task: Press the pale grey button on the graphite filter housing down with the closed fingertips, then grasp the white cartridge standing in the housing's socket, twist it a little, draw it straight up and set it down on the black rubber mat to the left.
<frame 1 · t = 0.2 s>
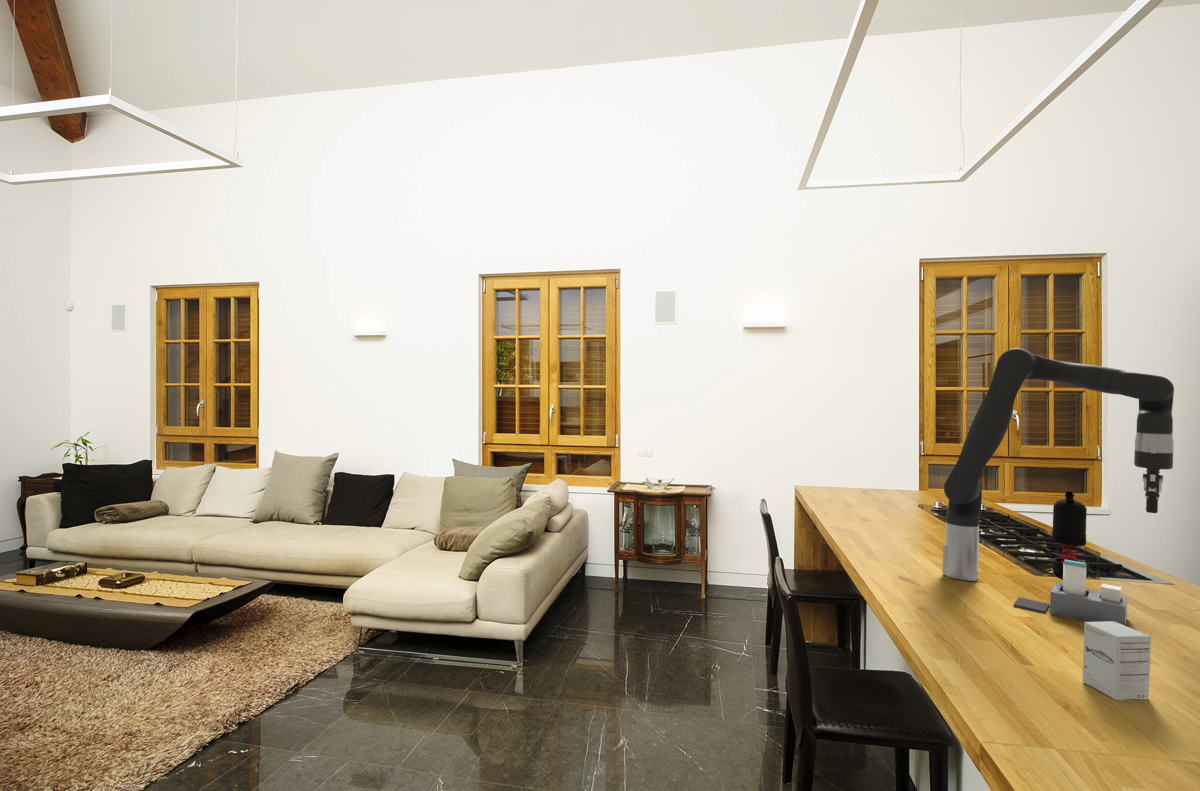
hand: (1151, 510, 156), 28 cm above the counter, tool pointing down, fingers open, 8 cm apart
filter: (1069, 585, 181), on the counter
housing: (1088, 616, 155), on the counter
supplement box: (1114, 692, 116), on the counter
cartridge: (1073, 613, 157), resting in housing
plunger: (1110, 596, 152), point 7 cm above the counter, slide at 0.0 cm
mat: (1031, 606, 162), on the counter
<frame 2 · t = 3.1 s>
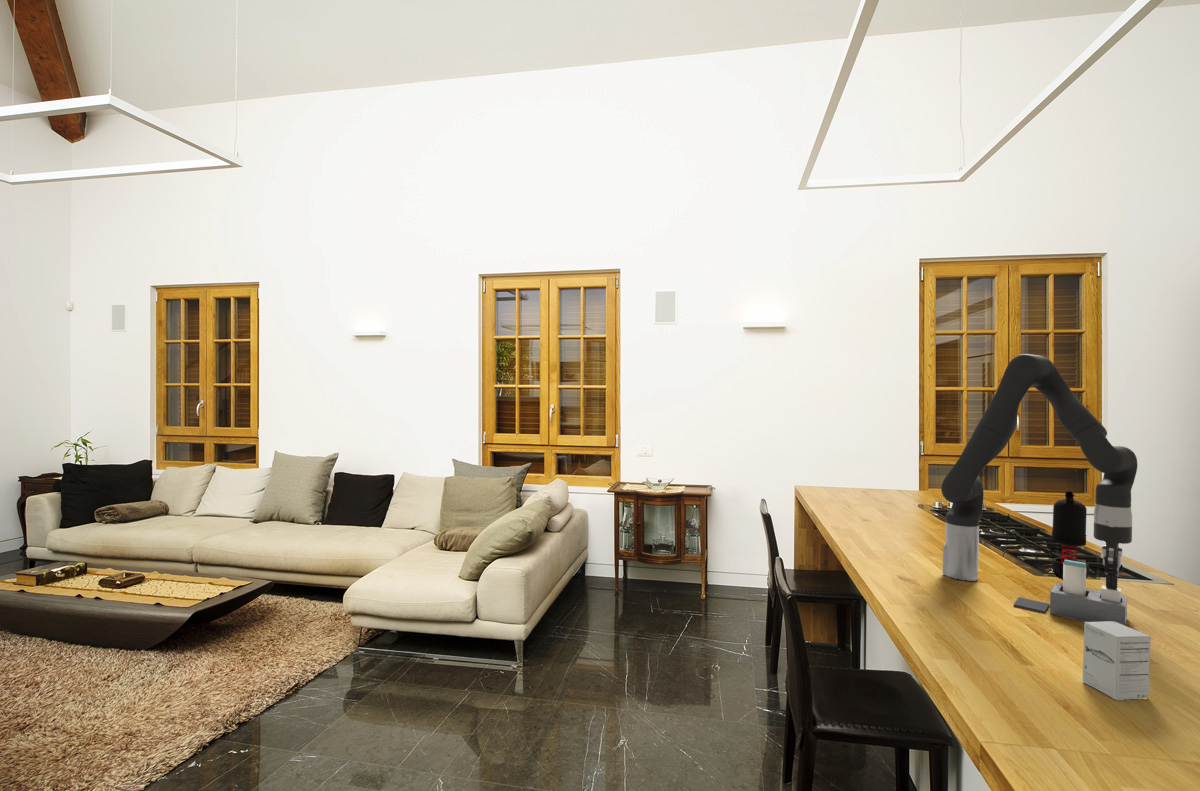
hand: (1111, 588, 152), 9 cm above the counter, tool pointing down, fingers closed
plunger: (1110, 598, 152), point 6 cm above the counter, slide at 0.4 cm, touching gripper
everything else where it was.
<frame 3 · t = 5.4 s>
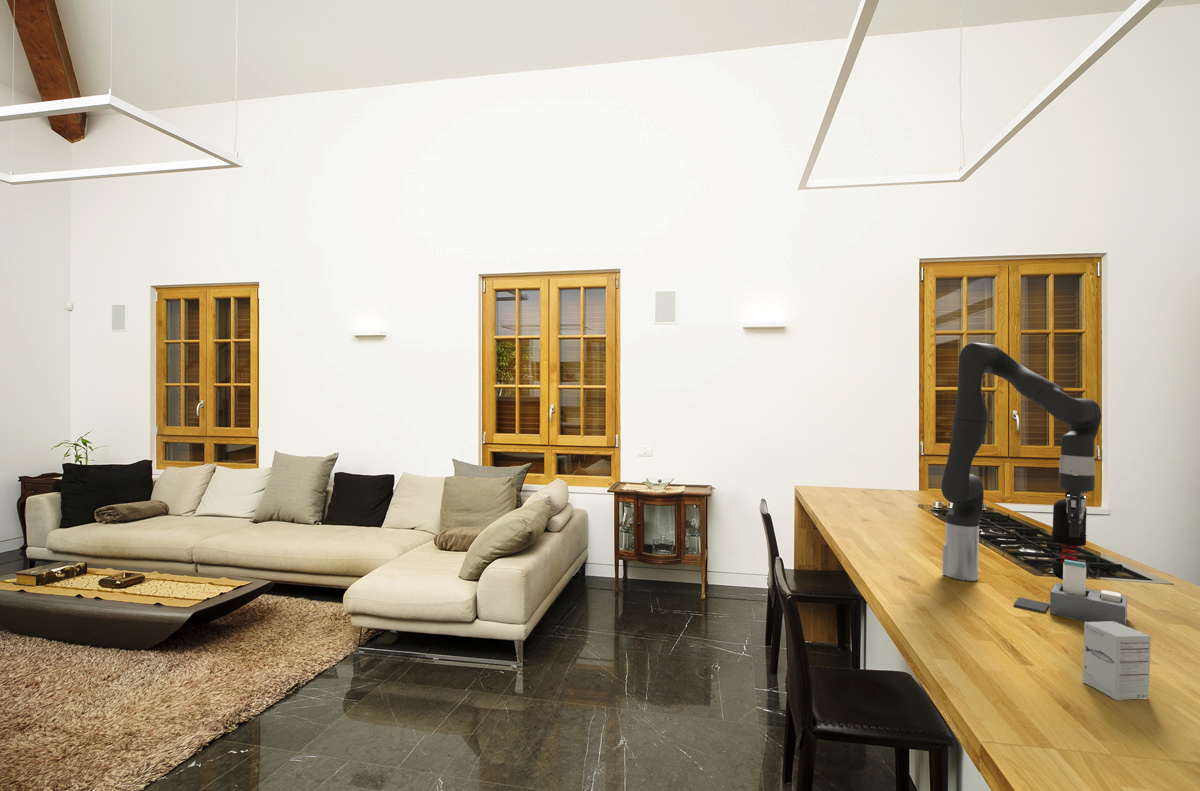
hand: (1075, 534, 157), 21 cm above the counter, tool pointing down, fingers open, 5 cm apart
plunger: (1110, 602, 152), point 5 cm above the counter, slide at 1.7 cm
everything else where it was.
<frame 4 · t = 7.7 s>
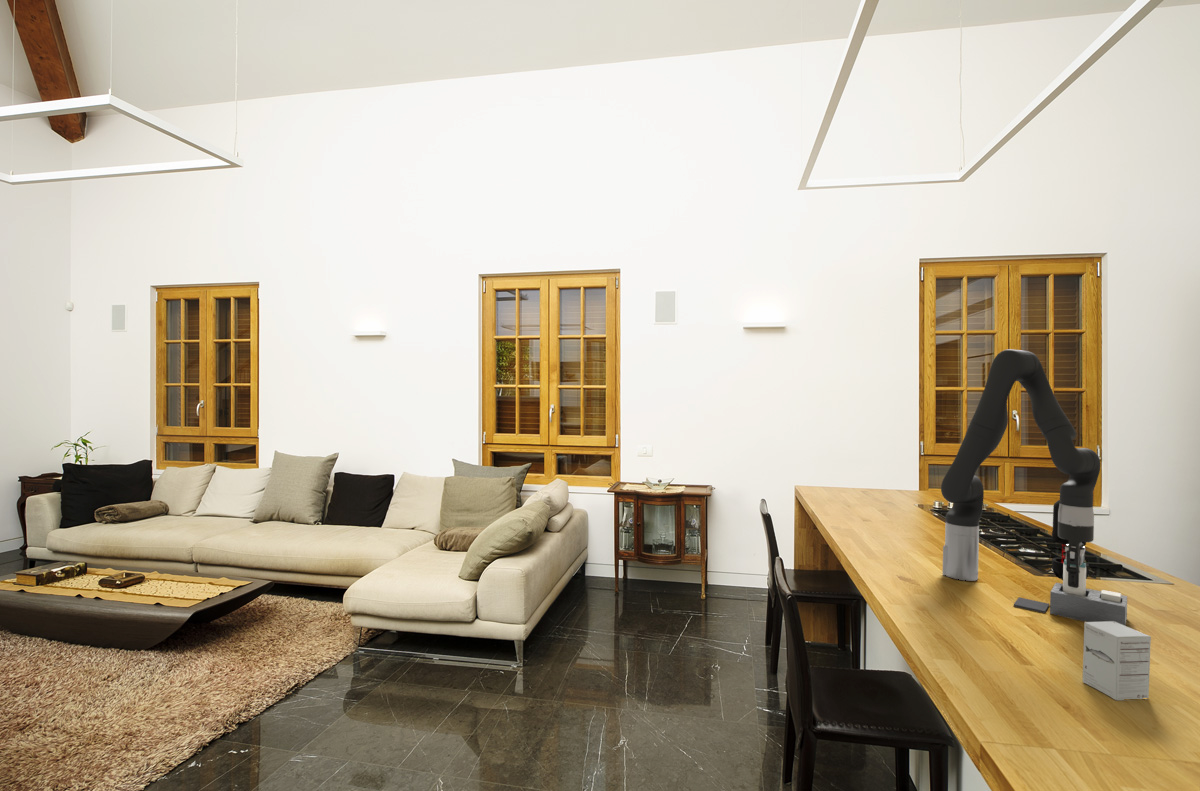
hand: (1074, 584, 157), 8 cm above the counter, tool pointing down, fingers closed on cartridge, 4 cm apart
cartridge: (1073, 613, 157), resting in housing, touching gripper
everything else where it was.
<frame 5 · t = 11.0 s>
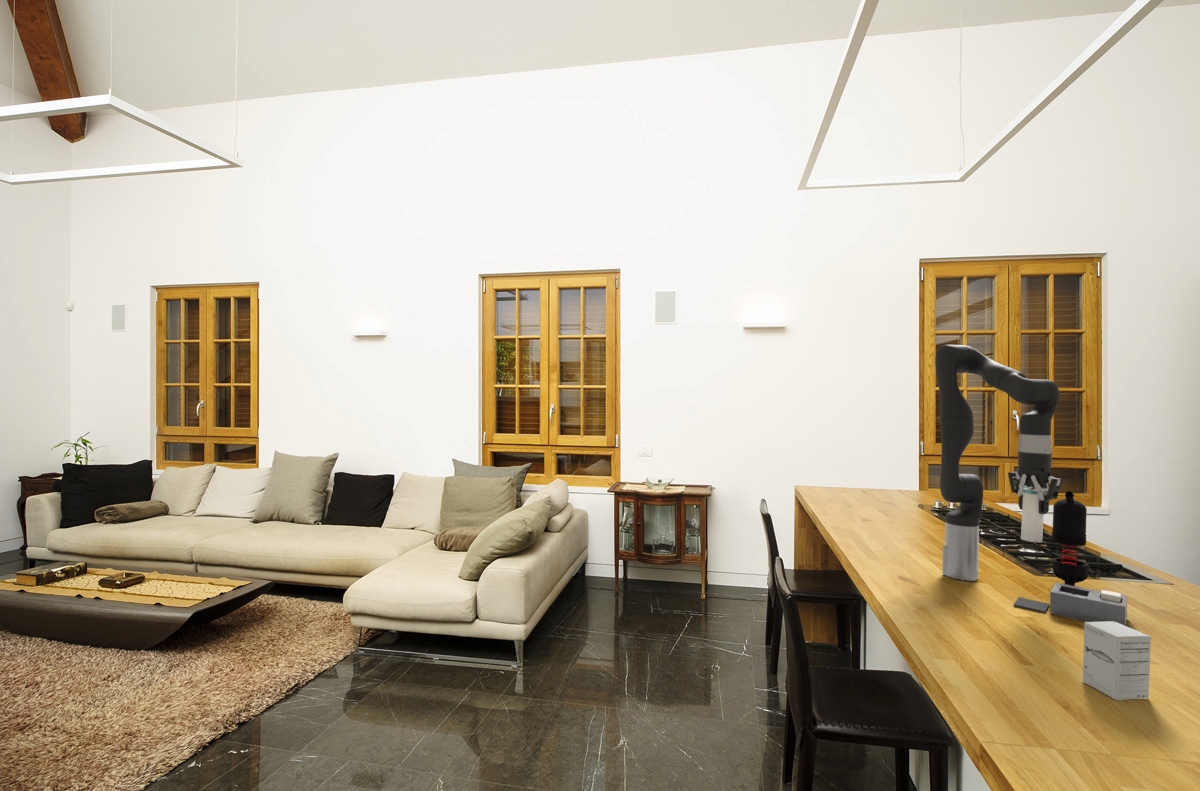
hand: (1033, 511, 162), 27 cm above the counter, tool pointing down, fingers closed on cartridge, 4 cm apart
cartridge: (1031, 540, 162), point 18 cm above the counter, touching gripper
everything else where it was.
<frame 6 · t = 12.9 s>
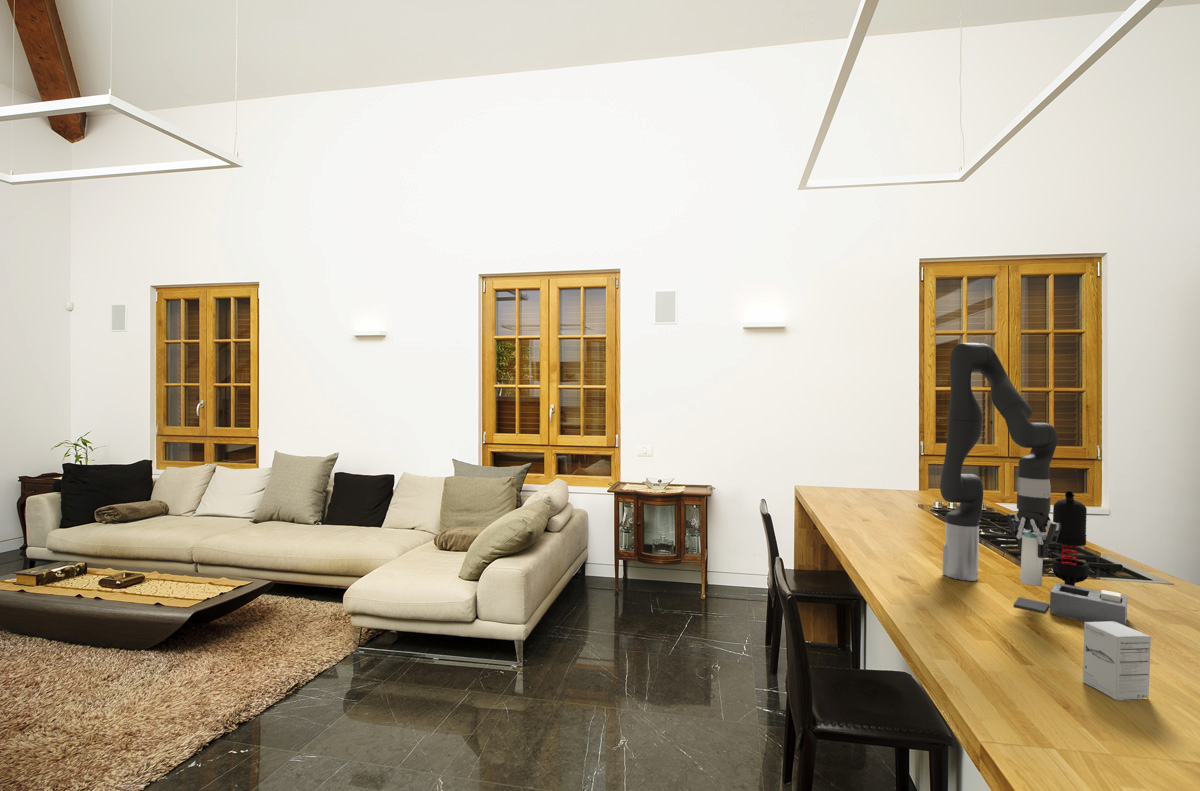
hand: (1032, 554, 162), 14 cm above the counter, tool pointing down, fingers closed on cartridge, 4 cm apart
cartridge: (1030, 583, 162), point 6 cm above the counter, touching gripper
everything else where it was.
when the fingers open (10 cm above the counter, at t = 14.3 s): cartridge drops 2 cm, resting on mat.
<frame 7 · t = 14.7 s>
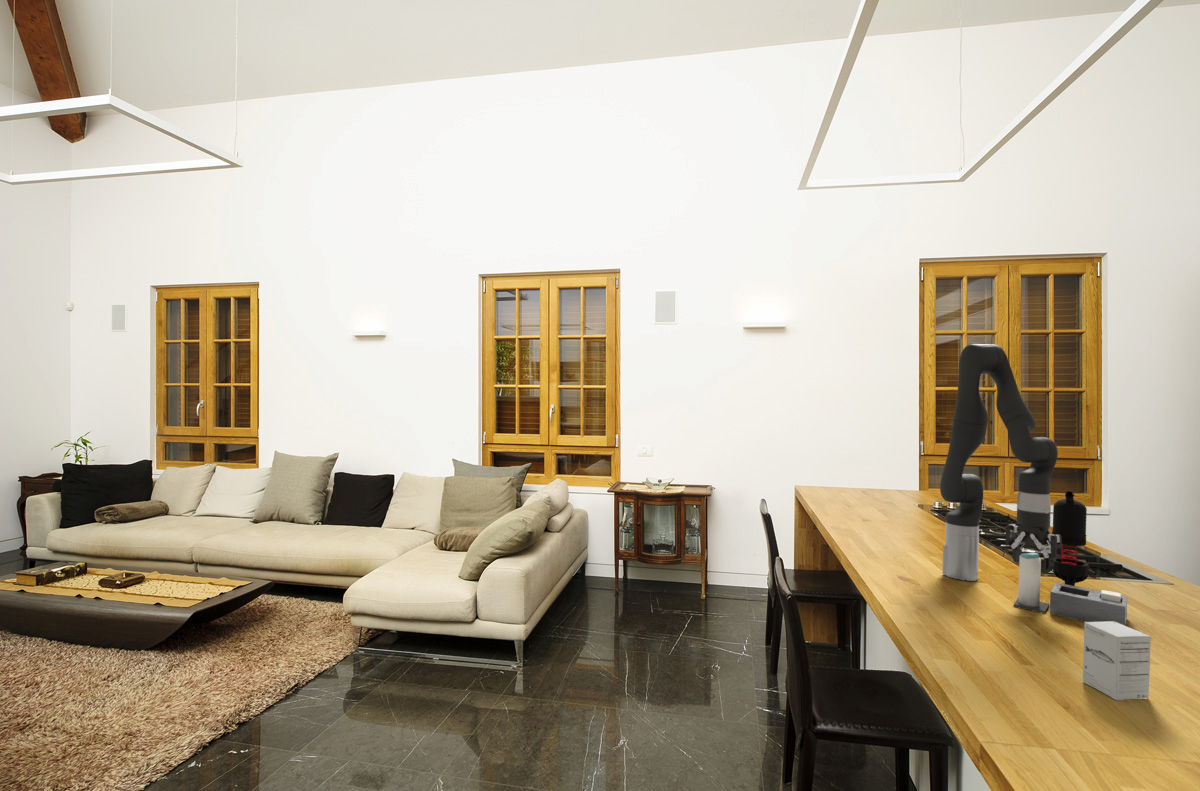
hand: (1032, 566, 162), 11 cm above the counter, tool pointing down, fingers open, 8 cm apart
cartridge: (1028, 603, 162), point 1 cm above the counter, touching mat
everything else where it was.
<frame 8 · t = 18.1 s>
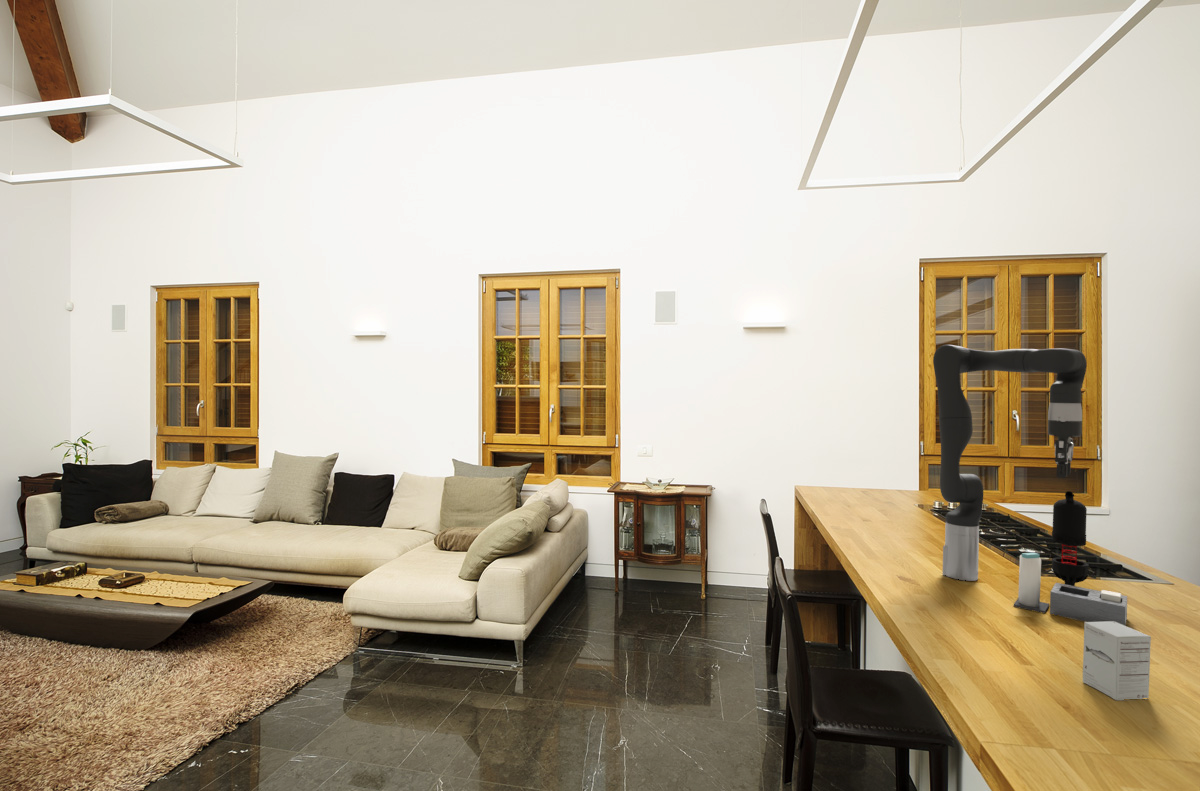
hand: (1063, 476, 165), 36 cm above the counter, tool pointing down, fingers open, 8 cm apart
nothing on the counter moved.
at the end: cartridge inside the target area on the mat (0.7 cm from its centre), point 0.6 cm above the mat's base; cartridge tilted 1°; plunger slide at 1.7 cm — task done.
